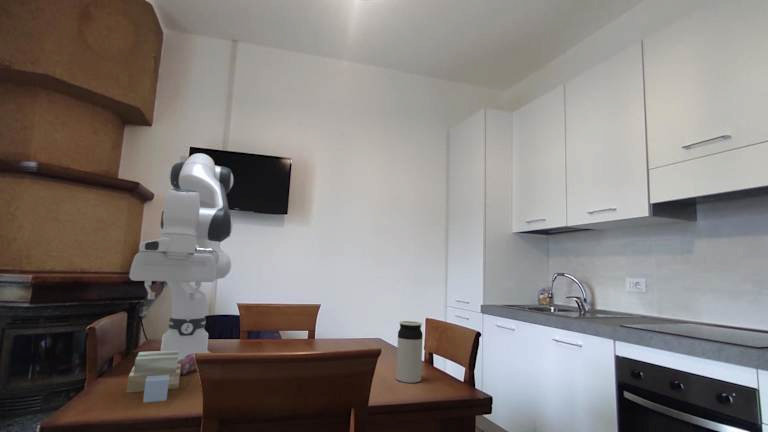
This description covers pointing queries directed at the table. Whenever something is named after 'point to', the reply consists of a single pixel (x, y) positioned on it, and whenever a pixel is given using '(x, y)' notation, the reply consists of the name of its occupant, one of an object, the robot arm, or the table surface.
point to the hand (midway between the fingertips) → (171, 299)
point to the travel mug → (409, 352)
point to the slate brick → (156, 388)
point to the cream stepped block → (154, 369)
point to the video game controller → (187, 363)
